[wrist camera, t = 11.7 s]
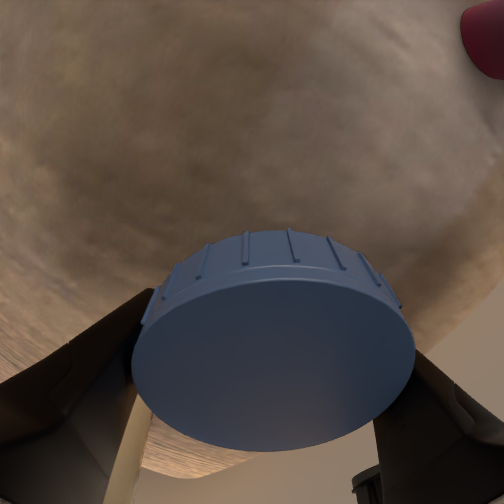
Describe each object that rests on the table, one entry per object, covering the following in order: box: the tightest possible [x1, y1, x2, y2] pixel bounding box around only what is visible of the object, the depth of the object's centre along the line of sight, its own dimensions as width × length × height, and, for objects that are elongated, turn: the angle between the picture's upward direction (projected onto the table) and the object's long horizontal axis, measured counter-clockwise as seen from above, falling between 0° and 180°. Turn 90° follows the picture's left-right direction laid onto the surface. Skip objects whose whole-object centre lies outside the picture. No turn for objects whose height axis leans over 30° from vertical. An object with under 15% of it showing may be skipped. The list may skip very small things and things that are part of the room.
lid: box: [131, 228, 415, 452], centre depth 7 cm, size 7×7×2 cm
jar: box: [103, 395, 152, 504], centre depth 13 cm, size 6×6×10 cm
